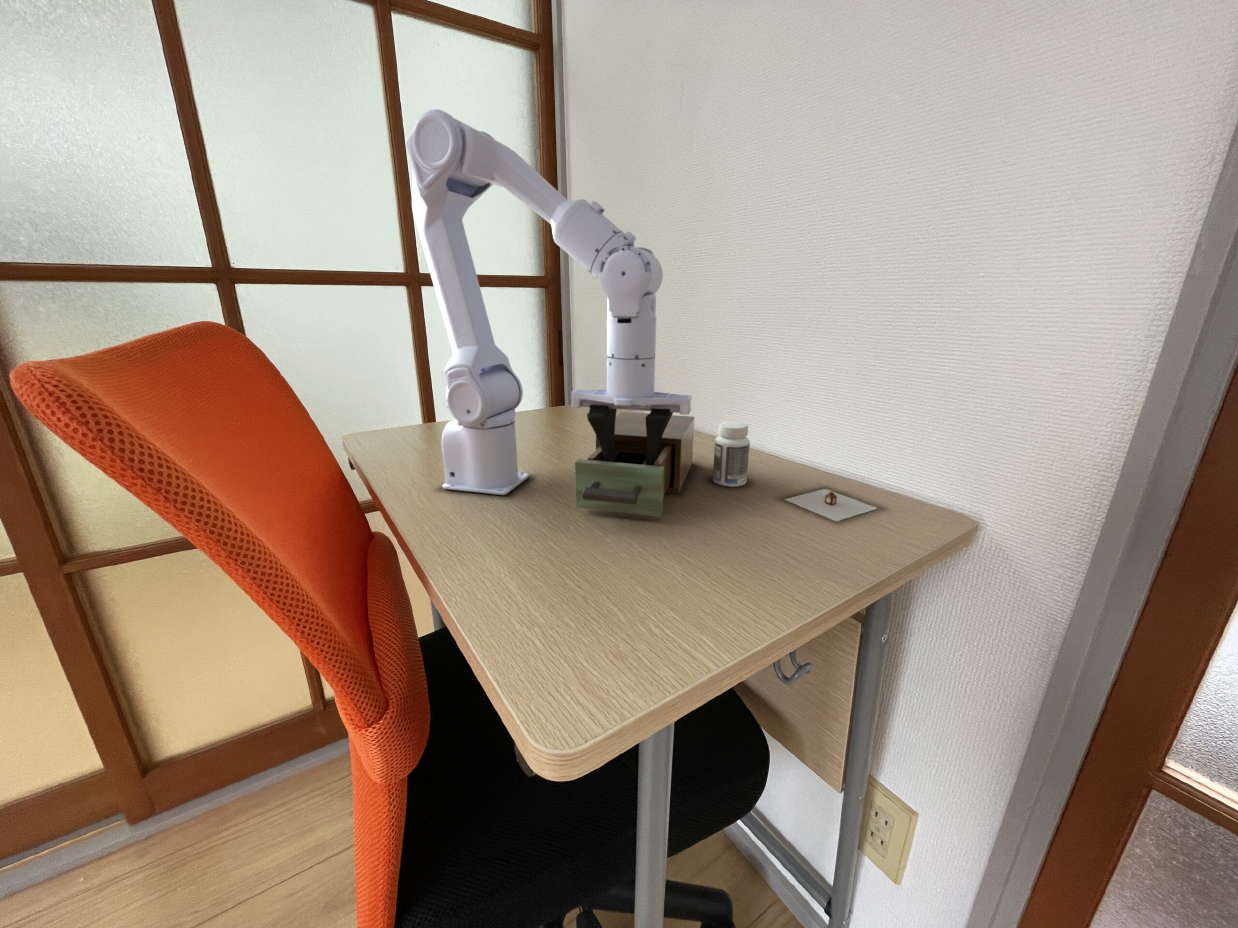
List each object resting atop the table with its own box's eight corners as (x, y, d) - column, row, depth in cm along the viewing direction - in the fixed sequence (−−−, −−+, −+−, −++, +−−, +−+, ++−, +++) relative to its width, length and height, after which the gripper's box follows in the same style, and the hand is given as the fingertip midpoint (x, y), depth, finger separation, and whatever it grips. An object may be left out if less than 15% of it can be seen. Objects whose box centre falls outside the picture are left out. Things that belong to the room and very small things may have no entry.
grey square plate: (878, 508, 66) (880, 494, 66) (836, 521, 62) (838, 506, 62) (824, 488, 73) (826, 475, 72) (784, 499, 69) (785, 486, 68)
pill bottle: (751, 480, 76) (756, 423, 73) (739, 489, 72) (744, 430, 69) (720, 474, 78) (723, 418, 76) (707, 483, 74) (710, 425, 72)
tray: (604, 485, 64) (604, 465, 63) (618, 469, 70) (618, 450, 69) (641, 489, 63) (642, 468, 62) (652, 472, 69) (652, 453, 68)
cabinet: (679, 494, 70) (681, 439, 68) (596, 485, 73) (595, 432, 71) (692, 463, 83) (694, 416, 81) (620, 457, 86) (621, 411, 83)
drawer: (654, 531, 57) (655, 481, 56) (564, 520, 60) (563, 472, 58) (677, 481, 72) (679, 441, 71) (604, 474, 75) (604, 435, 73)
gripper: (561, 358, 60) (564, 471, 64) (687, 363, 57) (682, 482, 61) (580, 352, 67) (582, 454, 71) (695, 356, 63) (690, 463, 67)
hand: (629, 466), depth 66 cm, fingers closed on tray, 4 cm apart
